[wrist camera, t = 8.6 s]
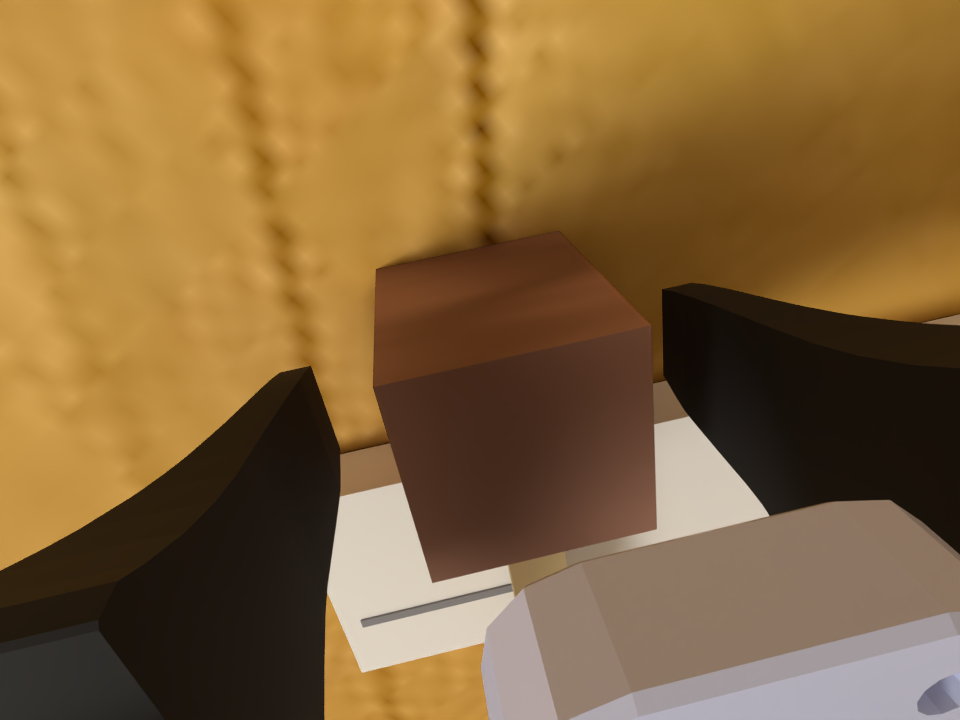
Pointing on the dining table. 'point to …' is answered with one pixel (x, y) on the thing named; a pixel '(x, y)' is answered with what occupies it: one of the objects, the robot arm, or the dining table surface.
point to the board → (484, 595)
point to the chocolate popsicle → (515, 406)
